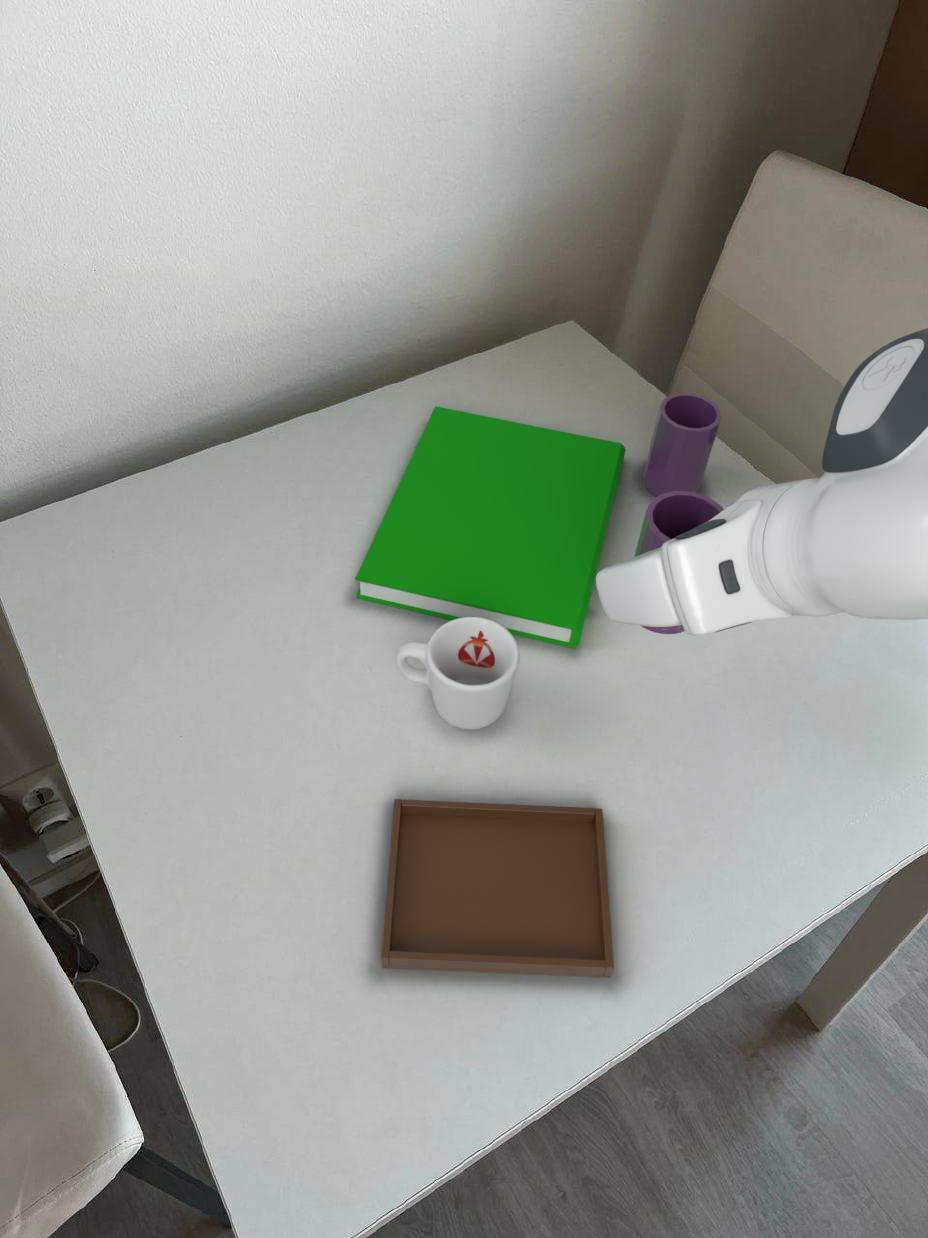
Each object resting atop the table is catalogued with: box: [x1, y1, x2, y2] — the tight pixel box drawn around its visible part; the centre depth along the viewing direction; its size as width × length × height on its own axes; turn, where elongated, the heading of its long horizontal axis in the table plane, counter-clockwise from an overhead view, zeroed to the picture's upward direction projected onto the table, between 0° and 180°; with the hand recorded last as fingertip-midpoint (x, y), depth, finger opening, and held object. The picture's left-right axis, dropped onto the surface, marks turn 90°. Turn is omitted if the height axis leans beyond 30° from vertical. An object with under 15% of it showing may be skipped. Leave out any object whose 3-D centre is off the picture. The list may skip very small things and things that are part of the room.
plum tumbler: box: [633, 491, 725, 635], centre depth 76 cm, size 6×6×10 cm
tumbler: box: [642, 392, 722, 498], centre depth 104 cm, size 6×6×10 cm
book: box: [354, 405, 626, 649], centre depth 101 cm, size 22×28×3 cm
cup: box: [395, 617, 521, 731], centre depth 84 cm, size 11×8×8 cm
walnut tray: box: [380, 798, 615, 979], centre depth 75 cm, size 17×13×2 cm
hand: (670, 555), depth 76 cm, fingers closed on plum tumbler, 6 cm apart
